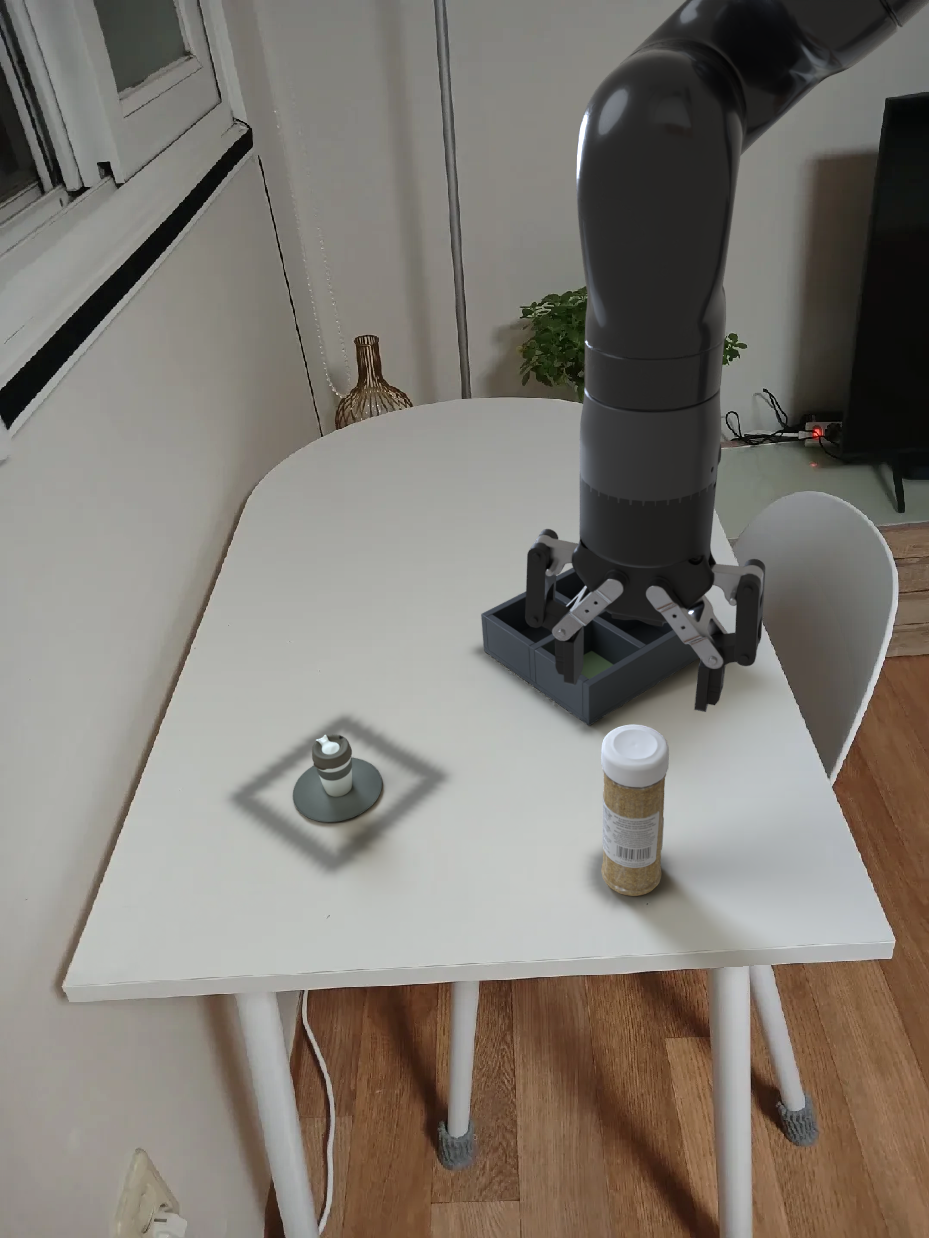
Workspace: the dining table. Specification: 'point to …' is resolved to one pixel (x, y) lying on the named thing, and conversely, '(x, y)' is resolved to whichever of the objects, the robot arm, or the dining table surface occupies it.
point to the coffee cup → (336, 782)
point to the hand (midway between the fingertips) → (637, 690)
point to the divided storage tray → (585, 654)
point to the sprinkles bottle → (633, 808)
